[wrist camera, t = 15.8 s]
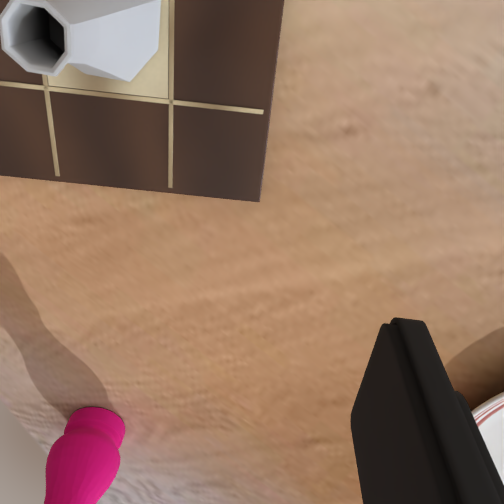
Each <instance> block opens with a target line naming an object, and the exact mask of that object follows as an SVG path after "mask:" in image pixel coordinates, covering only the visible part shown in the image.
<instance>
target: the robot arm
mask: <svg viewBox="0 0 504 504" xmlns="http://www.w3.org/2000/svg"><path fill="white" fill-rule="evenodd" d="M351 431H352V437H353V444H354V450H355V456H356V462H357V468H358V474H359V480H360V487H361V493H362V499H363V504H504V484H503V482H502V480H501V478H500V475H499V473H498V471H497V469H496V466H495V464H494V462H493V460H492V457H491V455H490V453H489V451H488V448H487V446H486V444H485V442H484V439H483V437H482V435H481V433H480V430H479V428H478V426H477V424H476V421H475V419H474V417H473V415H472V412H471V410H470V408H469V406H468V403H467V401H466V400H465V398H464V396H463V395H462V394H461V393H459V392H458V391H454V390H453V387H452V385H451V382H450V380H449V378H448V375H447V373H446V371H445V368H444V366H443V364H442V361H441V359H440V357H439V354H438V352H437V350H436V347H435V345H434V343H433V340H432V338H431V335H430V333H429V331H428V328H427V326H426V324H425V323H424V322H423V321H420V320H412V319H404V318H393V319H392V320H391V322H390V324H386V323H384V324H382V326H381V328H380V331H379V333H378V336H377V339H376V342H375V345H374V348H373V351H372V354H371V357H370V359H369V362H368V365H367V368H366V371H365V374H364V377H363V380H362V383H361V385H360V388H359V391H358V394H357V397H356V400H355V403H354V406H353V409H352V412H351Z"/></svg>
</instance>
